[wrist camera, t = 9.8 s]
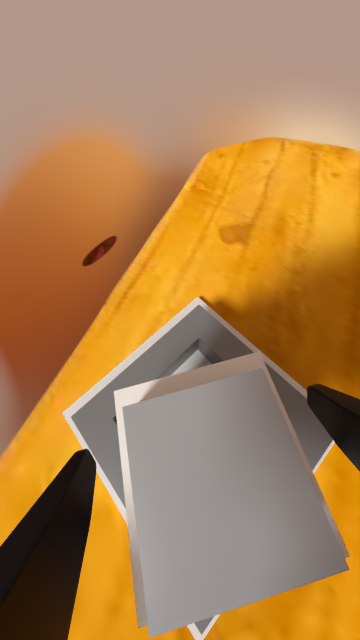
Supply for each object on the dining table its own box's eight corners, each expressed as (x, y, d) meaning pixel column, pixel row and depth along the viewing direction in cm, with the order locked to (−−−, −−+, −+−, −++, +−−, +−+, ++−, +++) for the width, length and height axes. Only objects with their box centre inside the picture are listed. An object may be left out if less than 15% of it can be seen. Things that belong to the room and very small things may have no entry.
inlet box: (198, 630, 11) (202, 749, 7) (67, 412, 17) (29, 415, 13) (339, 423, 15) (390, 430, 11) (197, 300, 21) (198, 275, 17)
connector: (230, 441, 14) (405, 608, 3) (179, 456, 14) (118, 712, 2) (213, 387, 16) (273, 340, 4) (167, 400, 16) (95, 388, 4)
